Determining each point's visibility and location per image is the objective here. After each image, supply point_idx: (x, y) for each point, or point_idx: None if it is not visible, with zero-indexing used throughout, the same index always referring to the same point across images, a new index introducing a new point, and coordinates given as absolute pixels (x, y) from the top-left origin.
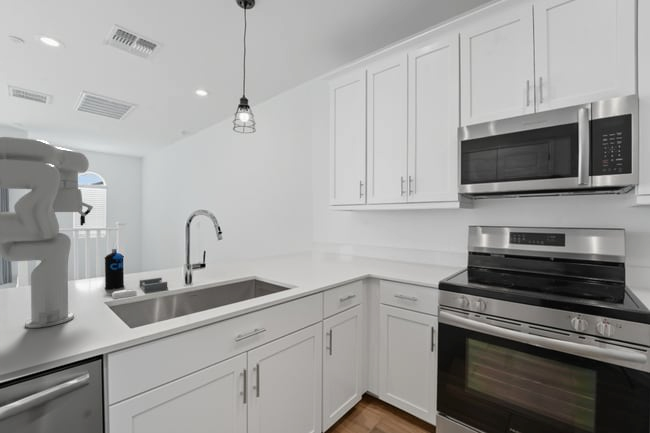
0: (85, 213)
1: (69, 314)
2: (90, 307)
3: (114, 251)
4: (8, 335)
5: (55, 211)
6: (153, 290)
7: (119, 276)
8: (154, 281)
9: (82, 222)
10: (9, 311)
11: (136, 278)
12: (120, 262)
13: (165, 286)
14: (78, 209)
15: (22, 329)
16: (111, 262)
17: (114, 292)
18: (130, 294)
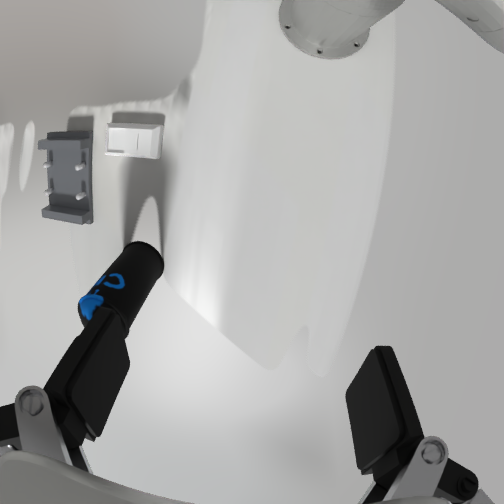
0: (18, 421)
1: (287, 13)
2: (228, 70)
3: None
4: None
5: (412, 501)
6: (74, 132)
7: (117, 260)
8: (58, 209)
9: (89, 327)
10: (372, 203)
11: None
12: (93, 287)
13: (48, 138)
14: (27, 488)
15: None
16: (114, 292)
17: (151, 142)
18: (122, 123)
